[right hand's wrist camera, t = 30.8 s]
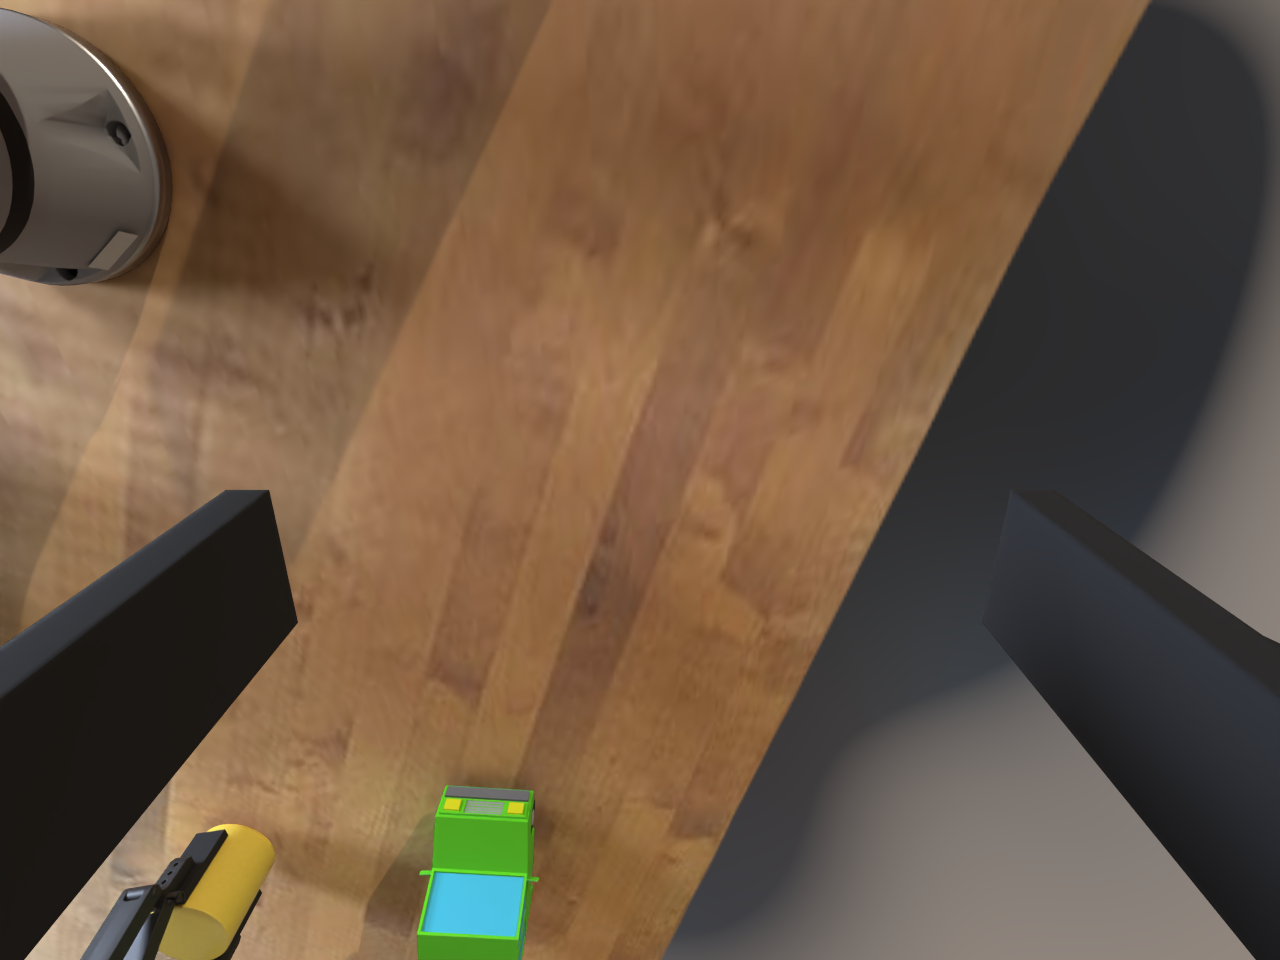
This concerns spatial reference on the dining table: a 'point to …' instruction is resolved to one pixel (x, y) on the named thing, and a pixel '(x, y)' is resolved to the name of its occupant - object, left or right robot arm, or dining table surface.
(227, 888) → the tin
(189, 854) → the left robot arm
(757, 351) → the dining table surface
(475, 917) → the toy car
